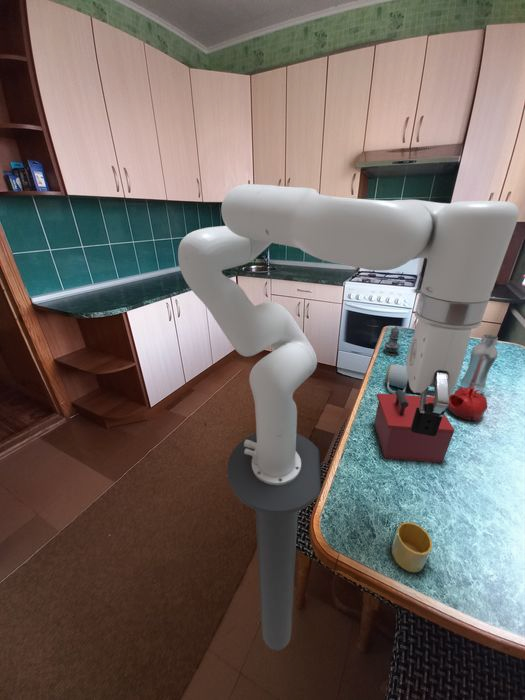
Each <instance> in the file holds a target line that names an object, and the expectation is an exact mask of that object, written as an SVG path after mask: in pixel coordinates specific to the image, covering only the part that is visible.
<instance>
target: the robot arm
mask: <svg viewBox="0 0 525 700" xmlns="http://www.w3.org/2000/svg"><path fill="white" fill-rule="evenodd" d="M220 212H221V219H222V221H223V223H224V225H219V226H209V227H204V228H199V229H196V230H193V231H191V232H189V233H187V234H186V235H185V236H184V237H183V238H182V239H181V241H180V243H179V245H178V249H177V261H178V267H179V269H180V273H181V275H182V277H183V279H184V281H185V283H186V284H187V286H188V287H189V289H190V290H191V292H193V293H194V295H195V296H196V297H197V298H198V299H199V300H200V302H202V303H203V305H204V306H205V307H206V308H207V310H208V311H209V312H210V314H211V316H212V318H213V319H214V320H215V322H216V324H217V325H218V326H219V328H220V330H221V331H222V333H223V334H224V336H225V337H226V339H227V340H228V342H229V343H230V344H231V346H232V347H233V349H234V351H236V352H237V353H238V354H239V355H241V356H243V357H246V358H247V357H248V358H249V357H253V356H255V355H257V354H259V353H261V352H263V351H265V350H266V349H267V348H270V347H271V346H272V349H274V350H272V351H271V352H269V353H268V354H267V355H265V356H263V358H261V359H259V360H258V361H257V362H256V363H255V364H254V365H253V367H252V369H250V373H249V376H248V377H249V378H248V379H249V380H248V381H249V385H250V389H251V393H252V397H253V400H254V401H253V402H254V409H255V411H254V413H255V431H256V432H255V433H256V434H257V443H255V442H253V441H250V440H247V439H246V440H245V442H244V447H247V448H252V449H254V451H252V450H250V449H245V451H244V454H247V455H251V456H252V457H253V458H252V470H253V472H254V474H255V475H256V477H257V478H258V479H259V480H261V481H262V482H264V483H266V484H269V485H285V484H287V483H290V482H292V481H293V480H294V479H295V478H297V476H298V475H299V473H300V470H301V459H300V456H299V455H298V453H297V452H296V433H297V428H298V408H297V404H296V401H295V400H294V398H293V397H294V393H295V391H296V390H297V389H298V388H299V387H300V386H301V385H302V384H303V383H304V382H305V381H307V379H309V377H311V376H312V375H313V373H314V372H315V371H316V369H317V365H318V358H317V353H316V352H315V349H314V348H313V346H312V344H311V342H310V341H309V339H308V338H307V336H306V334H305V333H304V332H303V331H302V329H301V327H300V326H299V324H298V323H297V322H296V320H295V318H294V317H293V315H292V314H291V313H290V311H289V310H288V309H287V308H285V306H283V305H282V304H280V303H279V302H276V301H264V302H261V303H259V304H256V305H255V304H254V303H253V302H252V301H251V300H250V299H249V297H248V296H247V294H246V292H245V291H244V290H243V288H242V287H241V285H239V284H238V283H237V282H236V281H234V280H233V279H231V278H230V277H228V276H227V275H225V274H224V273H223V271H225V270H229V269H233V268H237V267H239V266H243V265H247V264H249V263H250V262H252V261H254V260H255V259H256V258H257V257H258V256H259V255H261V254H262V253H263V252H264V251H266V249H267V248H268V247H269V246H270V245H271V244H277V245H281V246H287V247H290V248H291V247H292V248H296V249H300V250H301V252H303V253H305V254H308V255H309V256H312V257H314V258H316V259H319V260H323V261H325V262H328V263H329V262H330V263H333V264H337V265H344V266H346V267H347V266H348V267H353V268H358V269H362V270H370V271H390V270H395V269H398V268H400V267H403V266H405V265H406V264H407V263H409V262H410V261H412V260H416V259H417V260H418V259H426V260H427V261H426V265H425V270H424V273H423V278H422V282H421V287H420V290H419V294H418V298H417V302H416V306H415V311H414V317H415V318H416V319H417V322H416V324H415V328H414V331H413V334H412V337H411V342H410V345H409V349H408V351H407V356H406V359H405V366H406V369H407V375H408V381H407V385H406V389H405V393H406V394H407V395H412V396H421V397H420V407H419V408H416V411H415V415H414V418H413V422H412V425H411V431H412V432H414V433H419V434H424V435H429V436H436V434H437V431H438V428H439V426H440V423H441V420H442V417H443V416H444V414H446V412H447V408H448V405H449V396H451V395H452V394H454V392H455V388H456V386H457V383H458V380H459V378H460V375H461V371H462V369H463V368H462V367H463V364H464V361H465V357H466V354H467V350H468V346H469V342H470V338H471V334H472V329H477V328H478V327H480V326H481V323H482V321H483V318H484V316H485V314H486V313H485V312H486V309H487V308H488V305H489V301H490V298H491V296H492V292H493V290H494V287H495V284H496V281H497V278H498V276H499V274H500V270H501V267H502V265H503V262H504V259H505V256H506V253H507V251H508V248H509V245H510V243H511V240H512V236H513V234H514V232H515V229H516V225H517V222H518V219H519V208H518V206H517V204H515V203H514V202H511V201H507V200H506V201H505V200H464V201H463V200H462V201H461V200H460V201H453V202H450V203H447V202H435V201H429V200H422V199H421V200H420V199H393V200H382V199H368V198H353V197H342V196H332V195H325V194H320V193H319V192H318V191H317V189H315V188H311V187H296V186H285V185H284V186H283V185H281V186H280V185H275V184H260V183H259V184H256V183H245V184H239V185H236V186H234V187H233V188H231V189H230V190H229V191H228V192H227V193H226V194H225V196H224V198H223V200H222V203H221V207H220ZM429 387H432V388H433V390H431V389H429ZM427 396H428V397H434V400H433V403H428V404H426V400H427Z"/></svg>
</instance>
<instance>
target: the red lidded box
mask: <svg viewBox="0 0 525 700" xmlns="http://www.w3.org/2000/svg"><path fill="white" fill-rule="evenodd" d="M373 424H374V427H375V431H376V434H377V438H378V441H379V445H380V447H381V448H380V449H381V452H382V455H383V458H384V459H394V460H406V461H415V462H426V463H438V464H443V462H444V459H445V457H446V455H447V451H448V449H449V446H450V443H451V441H452V438H453V436H454V433H453V432H439V431H437V434H436V436H429V435H424V434H419V433H414V432H412V431H411V429H399V428H388V426H387V423H386V421H385V418H384V415H383V412H382V409H381V406H380V403H379V401H378V403H377V407H376V413H375V417H374V423H373Z"/></svg>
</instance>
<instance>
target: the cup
mask: <svg viewBox="0 0 525 700" xmlns="http://www.w3.org/2000/svg"><path fill="white" fill-rule="evenodd" d="M432 549H433V541H432V538H431V537H430V534H429V533H428V531H426V529H424V527H422V526H421V525H419V524H417V523H415V522H411V521H405V522H402V523H400V524H399V525H398V527H397V529H396V532H395V534H394V538H393V542H392V544H391V555H392V557H393V559H394V561H395V563H396V564H397V565H398V566H399V567H400V568H402V569H403V570H405V571H407V572H409V573H419V572H421V571H422V570H423V568H424V566H425V565H426V563H427V560H428V558H429V556H430V554H431V552H432Z"/></svg>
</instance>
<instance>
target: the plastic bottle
mask: <svg viewBox="0 0 525 700" xmlns="http://www.w3.org/2000/svg"><path fill="white" fill-rule="evenodd" d="M498 339H499V337H498V336H496V335H493V334H483V335H482V337H481V339H480V342H479V343H478V344H476V345H475V346H473V347H472V349H471V352H470V358H469V362H468V365H467V366H468V367H467V370H466V372H465V374H464V376H462V378H461V381H460V385H459V388H461V387H463V388H469V387H474V390H473V391H475V390H480V391H477V393H478V394H480V395H482V393H484V391H485V390H486V385H487V380H488V379H487V378H488V375H489V372H490V370H491V368H492V366H493V365H494V363H495V361H496V359H497V357H498V355H499V354H498V353H499V352H498V350H497V349H498V348H497V346H496V345H497V344H498Z"/></svg>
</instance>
